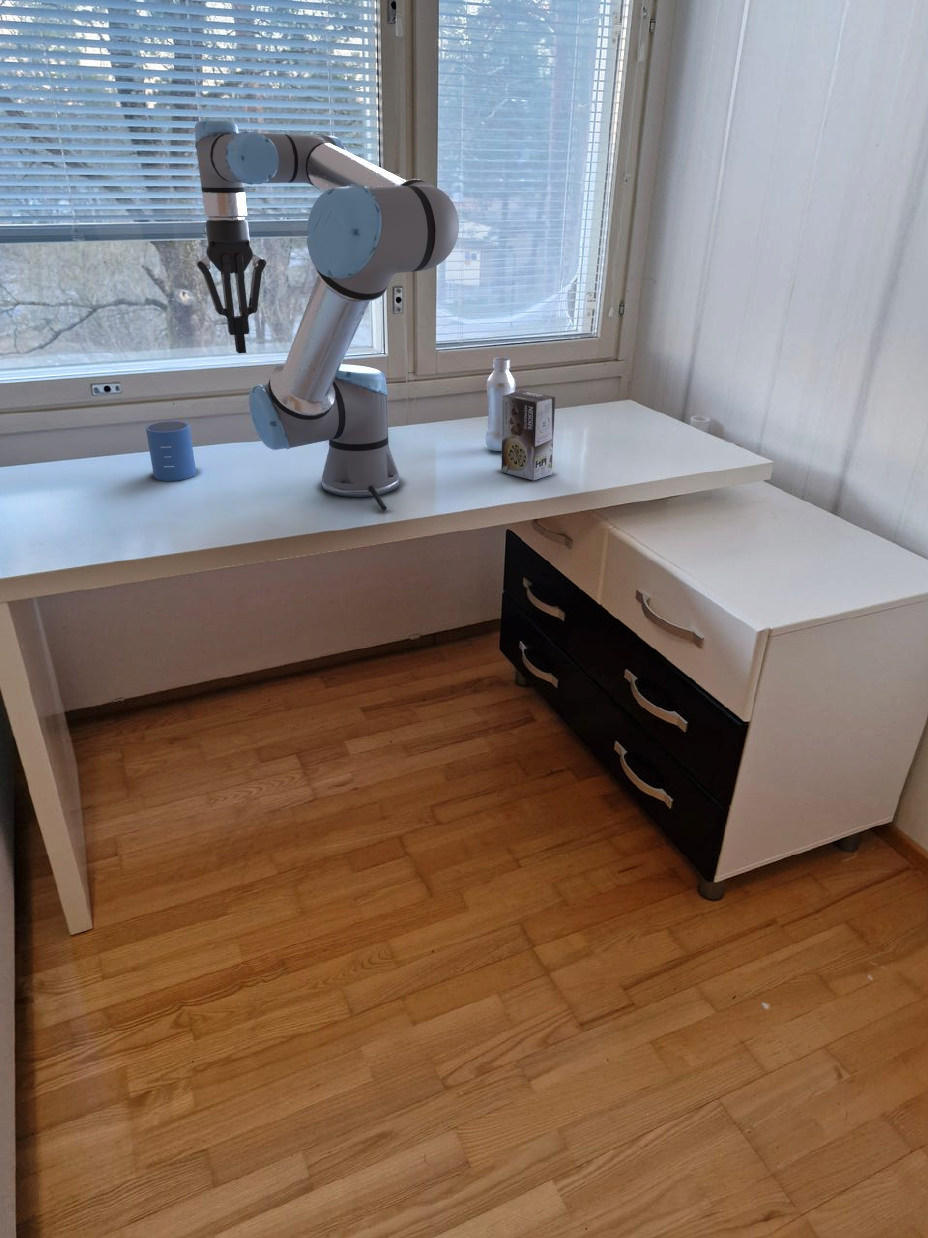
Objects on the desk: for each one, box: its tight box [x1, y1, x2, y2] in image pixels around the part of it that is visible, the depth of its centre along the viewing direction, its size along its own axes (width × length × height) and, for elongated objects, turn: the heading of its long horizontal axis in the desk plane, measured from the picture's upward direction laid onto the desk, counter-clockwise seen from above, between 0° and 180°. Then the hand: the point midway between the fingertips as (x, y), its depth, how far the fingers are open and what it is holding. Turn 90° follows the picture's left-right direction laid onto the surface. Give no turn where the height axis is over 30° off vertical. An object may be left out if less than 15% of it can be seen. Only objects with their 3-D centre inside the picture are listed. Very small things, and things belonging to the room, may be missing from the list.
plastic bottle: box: [485, 357, 517, 452], centre depth 191 cm, size 6×7×20 cm
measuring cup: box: [145, 420, 197, 482], centre depth 177 cm, size 10×8×8 cm
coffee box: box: [500, 389, 556, 481], centre depth 177 cm, size 9×6×16 cm
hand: (241, 351), depth 169 cm, fingers closed
